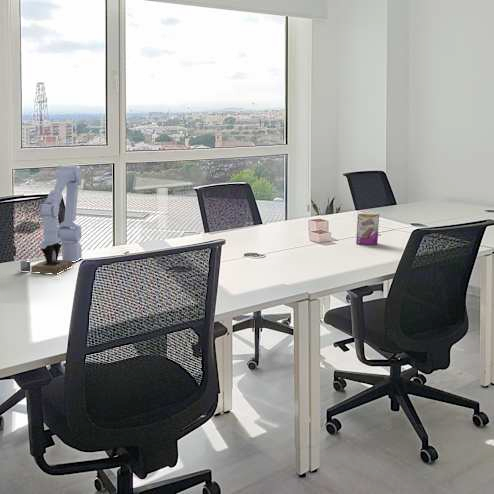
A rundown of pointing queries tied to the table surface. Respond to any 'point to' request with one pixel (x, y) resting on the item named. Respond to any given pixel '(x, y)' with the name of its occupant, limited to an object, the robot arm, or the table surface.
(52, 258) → the tall pin
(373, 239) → the candy bar box
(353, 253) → the table surface
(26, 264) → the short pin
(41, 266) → the wooden square frame
